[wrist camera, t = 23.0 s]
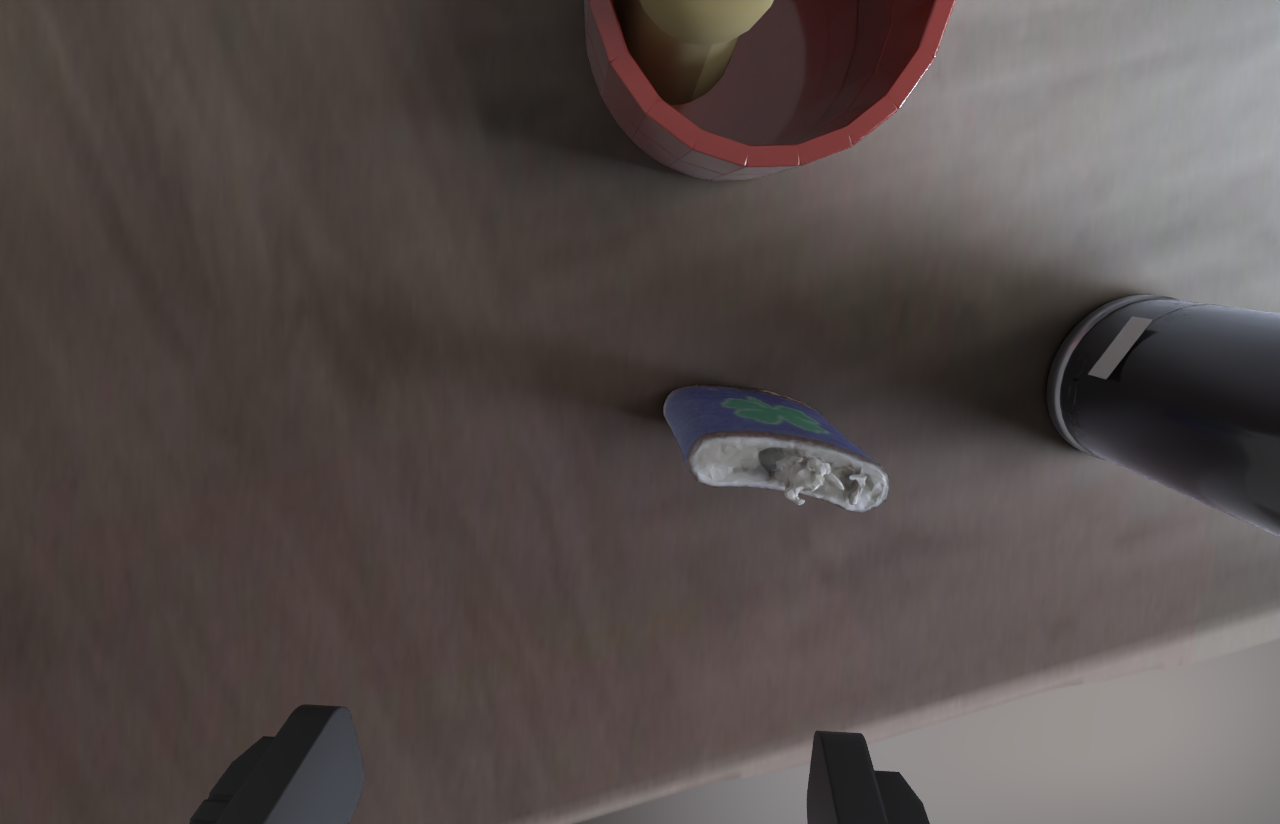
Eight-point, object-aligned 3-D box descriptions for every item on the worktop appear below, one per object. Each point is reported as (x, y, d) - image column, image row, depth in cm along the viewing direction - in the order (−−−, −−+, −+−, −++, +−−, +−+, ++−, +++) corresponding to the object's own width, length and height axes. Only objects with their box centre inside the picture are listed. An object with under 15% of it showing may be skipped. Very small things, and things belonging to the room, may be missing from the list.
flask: (657, 423, 36) (689, 501, 26) (669, 372, 35) (707, 430, 25) (815, 451, 37) (906, 536, 27) (830, 402, 37) (928, 469, 26)
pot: (878, -142, 30) (982, -270, 22) (860, 177, 33) (943, 162, 26) (576, -145, 29) (575, -281, 21) (592, 184, 32) (595, 170, 25)
